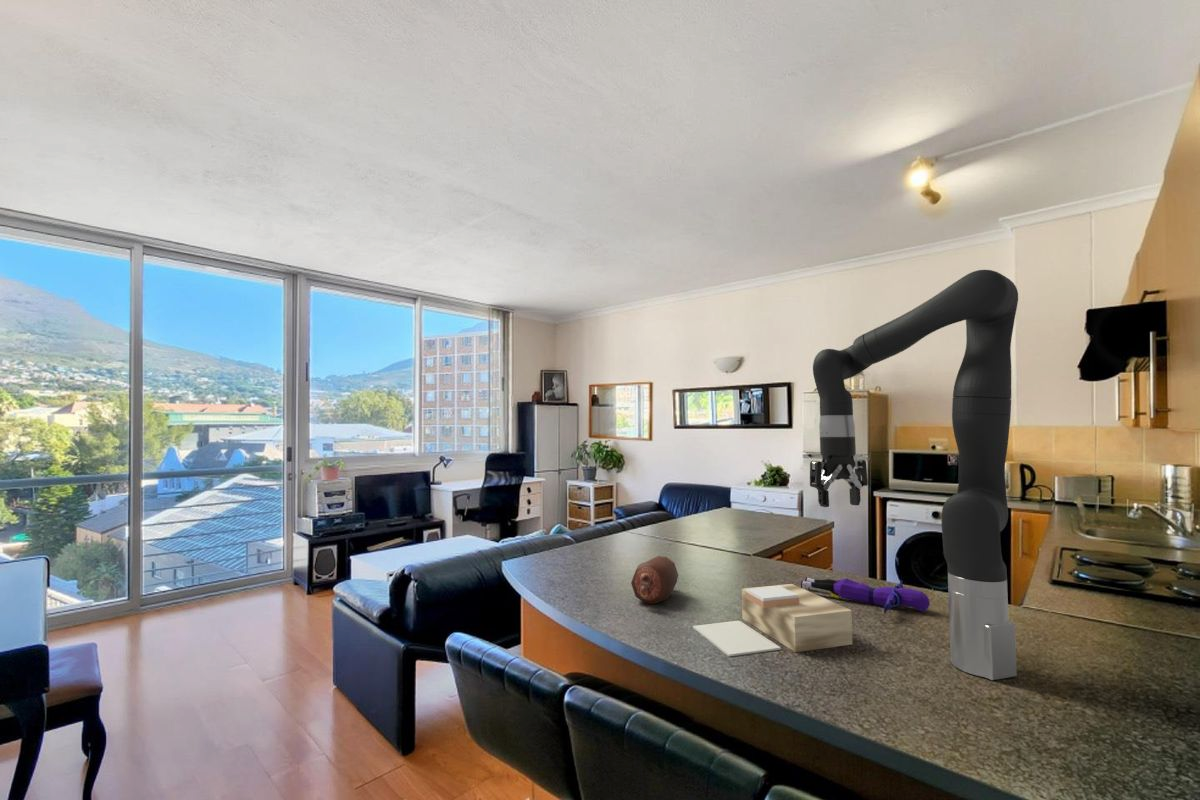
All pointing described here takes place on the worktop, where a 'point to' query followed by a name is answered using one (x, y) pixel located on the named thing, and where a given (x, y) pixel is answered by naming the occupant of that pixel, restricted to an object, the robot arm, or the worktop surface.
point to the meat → (655, 580)
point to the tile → (772, 596)
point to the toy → (871, 593)
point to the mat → (735, 638)
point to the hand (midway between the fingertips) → (839, 505)
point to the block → (802, 621)
